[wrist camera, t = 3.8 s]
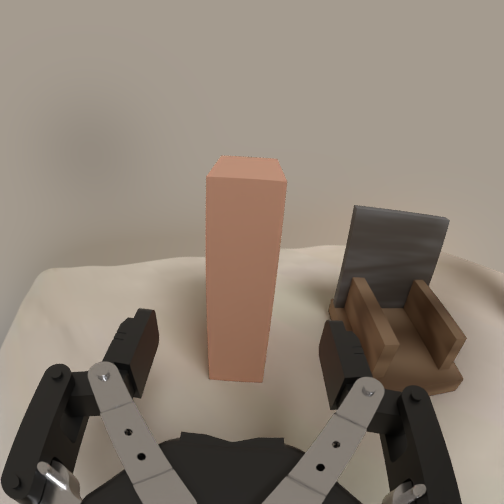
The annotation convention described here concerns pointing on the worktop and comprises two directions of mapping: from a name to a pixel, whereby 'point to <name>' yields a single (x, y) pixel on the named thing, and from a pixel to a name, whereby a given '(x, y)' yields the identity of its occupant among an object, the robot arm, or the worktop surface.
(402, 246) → the rack
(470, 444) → the worktop surface
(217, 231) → the salmon pink rectangular block
